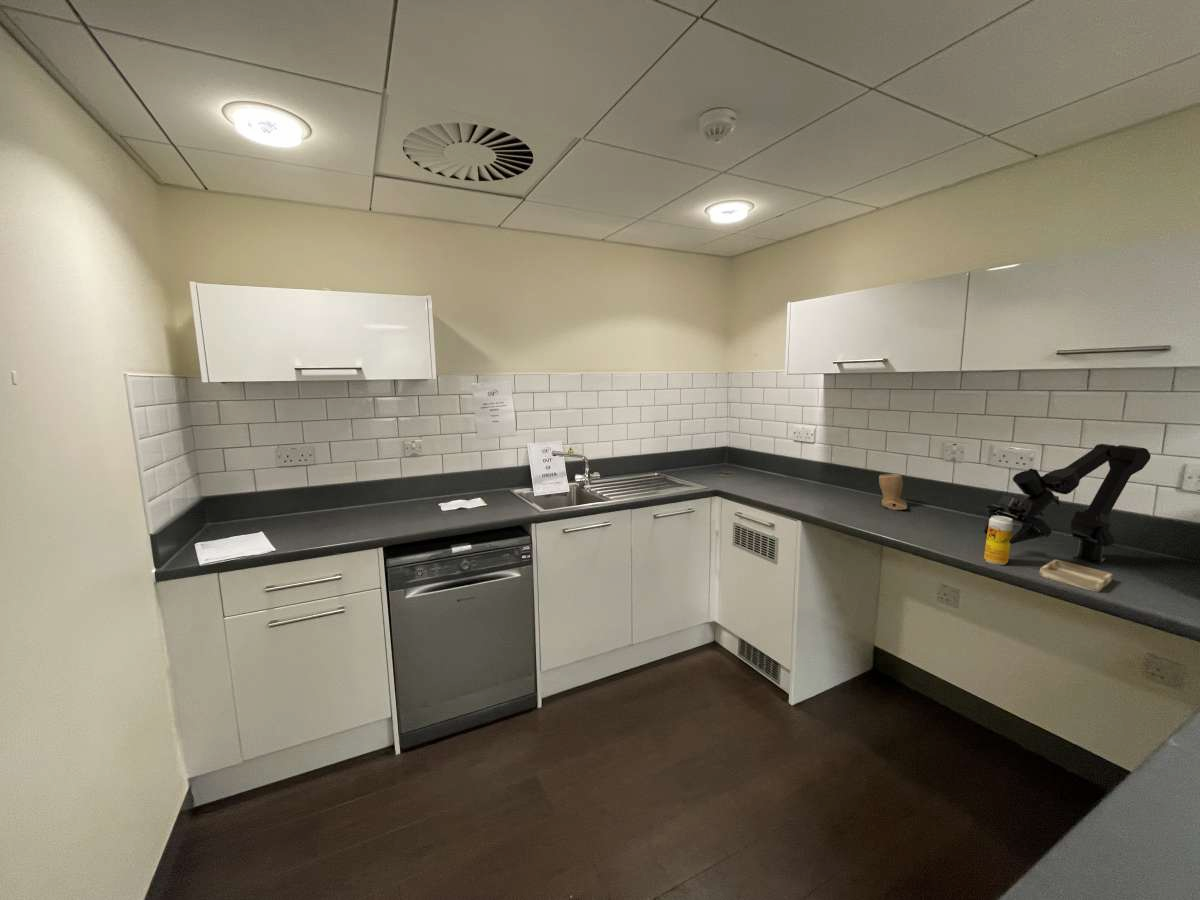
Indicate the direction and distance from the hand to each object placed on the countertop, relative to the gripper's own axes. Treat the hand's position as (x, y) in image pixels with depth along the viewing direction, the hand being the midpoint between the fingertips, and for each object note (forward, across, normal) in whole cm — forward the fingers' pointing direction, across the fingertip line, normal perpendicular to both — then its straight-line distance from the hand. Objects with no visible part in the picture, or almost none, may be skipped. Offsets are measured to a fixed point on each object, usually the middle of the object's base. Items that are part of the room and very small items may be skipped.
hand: (997, 537), depth 156 cm
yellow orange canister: (+6, 0, +6) cm, 9 cm away
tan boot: (-1, -64, +13) cm, 65 cm away
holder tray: (-4, +14, +15) cm, 21 cm away
